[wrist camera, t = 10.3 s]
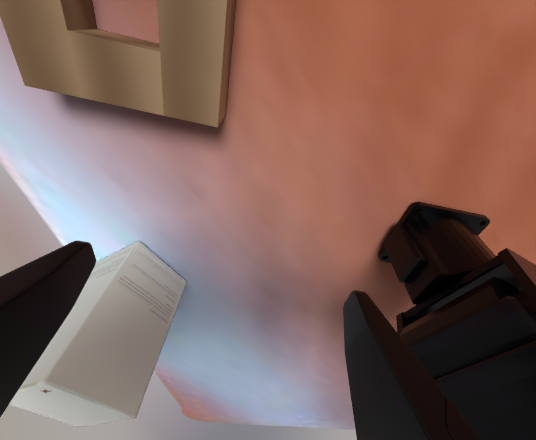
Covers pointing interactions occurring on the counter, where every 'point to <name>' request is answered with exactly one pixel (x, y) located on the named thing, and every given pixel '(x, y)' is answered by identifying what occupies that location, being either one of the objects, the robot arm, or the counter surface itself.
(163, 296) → the supplement box
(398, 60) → the counter surface
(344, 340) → the robot arm
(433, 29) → the counter surface
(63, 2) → the socket
